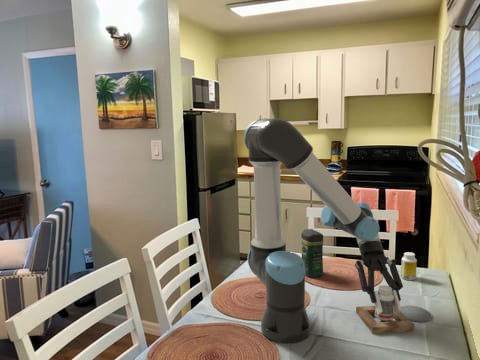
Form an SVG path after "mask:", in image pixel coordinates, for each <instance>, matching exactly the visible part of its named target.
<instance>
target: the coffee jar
mask: <svg viewBox="0 0 480 360" xmlns="http://www.w3.org/2000/svg"><path fill="white" fill-rule="evenodd" d="M300 238H301V239H300V240H301V258H302V259H303V261H304V265H305V276H306V277H312V278H317V277H320V276H323V274H324V260H323V258H324V257H323V256H324V254H323V253H324V250H323V246H324V235H323V234H322V233H321V232H319V231H317V230H314V228H307V229H306V228H305V229H303V230H302V232H301V236H300Z"/></svg>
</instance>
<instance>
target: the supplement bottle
mask: <svg viewBox="0 0 480 360" xmlns="http://www.w3.org/2000/svg"><path fill="white" fill-rule="evenodd" d="M415 256H416V254H415V253H414V252H412V251H411V252H409V251H408V252H404V253H403V256H402V258H401V268H400V269H401V271H400V278H402V279H403V280H407V281H414V280H416V279H417V263H418V260H417V258H416V257H415Z"/></svg>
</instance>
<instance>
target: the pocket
mask: <svg viewBox="0 0 480 360" xmlns="http://www.w3.org/2000/svg"><path fill="white" fill-rule="evenodd" d="M355 313H356V315H358V317H359V319H361V321H362V322H363V323H364V325H365V326H366V328H367V329H368V330H369V331H370V332H371V334H383V333H384V334H385V333H386V334H387V333H388V334H389V333H401V332H414V331H415V324H414V322H413V321H410V320H409V319H408V318H407V317H406V316H405V315H404V314H403V313H402V312H400V313H399V314H396V311H395V308H394V304H393V318H392V319H394V321H383V322H381V321H380V322H377V321H376V319H374V317H373V316H375V305H369V306H368V305H365V306H364V305H363V306H356V307H355Z"/></svg>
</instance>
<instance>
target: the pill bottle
mask: <svg viewBox="0 0 480 360" xmlns="http://www.w3.org/2000/svg"><path fill="white" fill-rule="evenodd" d="M377 293H378V296H379V300H380V303H381V307H382V310H383V312H382V313H381V314H379V315H377V311H376V307H375V315H374V317H376V318H377V319H379V320H382V321H391V320H392V319H394V318H393V305H394V296H393V295H392V288H391V287H389V285H383V284H382V285H379V286H378V291H377Z"/></svg>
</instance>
